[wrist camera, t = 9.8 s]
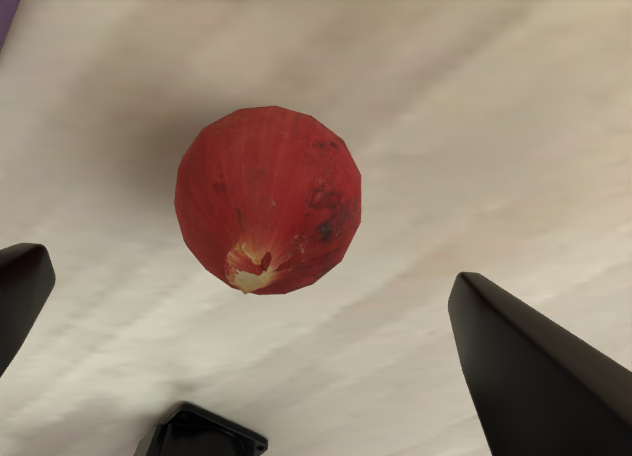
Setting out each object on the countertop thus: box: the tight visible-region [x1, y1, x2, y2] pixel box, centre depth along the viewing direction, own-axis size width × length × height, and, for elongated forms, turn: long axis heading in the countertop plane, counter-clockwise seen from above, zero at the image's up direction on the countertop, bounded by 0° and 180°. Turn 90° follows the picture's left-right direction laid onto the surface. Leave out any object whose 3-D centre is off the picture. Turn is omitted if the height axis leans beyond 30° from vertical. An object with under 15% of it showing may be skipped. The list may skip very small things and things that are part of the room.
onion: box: [174, 106, 361, 295], centre depth 12 cm, size 6×6×8 cm
